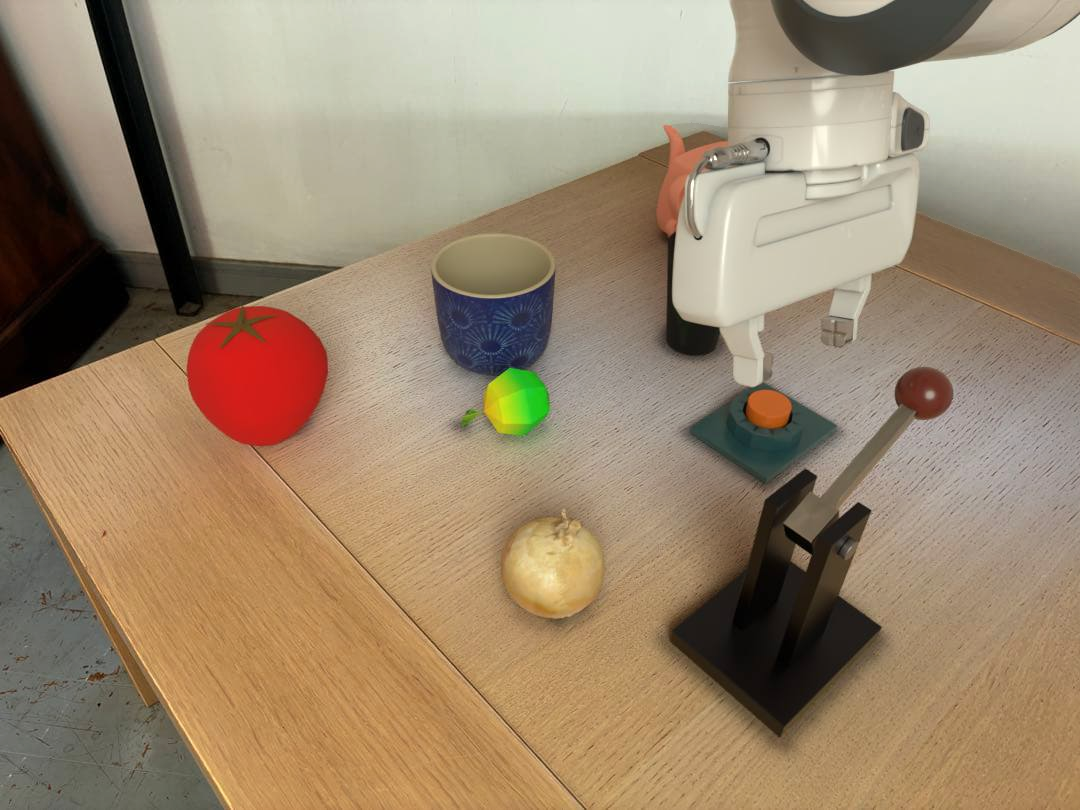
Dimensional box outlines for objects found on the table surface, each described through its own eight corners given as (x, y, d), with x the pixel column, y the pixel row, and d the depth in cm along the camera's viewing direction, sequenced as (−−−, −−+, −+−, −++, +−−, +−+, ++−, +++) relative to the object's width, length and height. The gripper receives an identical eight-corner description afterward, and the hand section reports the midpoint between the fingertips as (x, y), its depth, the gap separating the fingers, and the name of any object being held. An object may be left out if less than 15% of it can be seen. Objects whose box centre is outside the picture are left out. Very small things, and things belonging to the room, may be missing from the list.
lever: (913, 376, 58) (916, 347, 56) (962, 401, 56) (967, 372, 54) (777, 534, 56) (772, 512, 53) (823, 566, 54) (820, 545, 51)
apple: (548, 352, 77) (458, 379, 73) (571, 417, 76) (481, 446, 73) (525, 371, 83) (441, 395, 80) (546, 430, 83) (463, 457, 79)
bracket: (768, 558, 68) (807, 423, 58) (877, 638, 62) (940, 503, 52) (669, 641, 62) (694, 506, 52) (779, 738, 56) (831, 606, 46)
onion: (595, 640, 62) (601, 581, 57) (491, 624, 63) (488, 565, 58) (607, 557, 68) (613, 498, 63) (512, 544, 69) (511, 484, 64)
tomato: (204, 478, 74) (164, 366, 66) (208, 397, 83) (173, 290, 75) (343, 453, 77) (321, 343, 69) (333, 377, 85) (312, 272, 77)
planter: (461, 400, 83) (455, 308, 76) (423, 333, 91) (414, 246, 84) (573, 369, 87) (576, 280, 80) (526, 308, 95) (525, 223, 88)
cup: (736, 358, 88) (756, 259, 81) (667, 365, 87) (681, 266, 80) (713, 318, 94) (729, 222, 87) (648, 323, 93) (659, 227, 86)
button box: (760, 386, 85) (764, 366, 83) (835, 430, 80) (842, 411, 78) (689, 433, 79) (692, 413, 78) (765, 484, 74) (770, 464, 73)
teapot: (654, 207, 115) (664, 117, 107) (776, 219, 112) (796, 128, 104) (643, 261, 104) (653, 165, 95) (778, 276, 101) (800, 179, 93)
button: (762, 396, 80) (765, 384, 79) (797, 417, 78) (800, 404, 77) (736, 414, 78) (739, 401, 77) (771, 435, 76) (774, 423, 75)
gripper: (740, 151, 39) (737, 423, 44) (944, 116, 51) (923, 332, 56) (641, 151, 43) (648, 397, 48) (850, 118, 55) (838, 318, 60)
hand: (797, 362), depth 52 cm, fingers open, 8 cm apart
